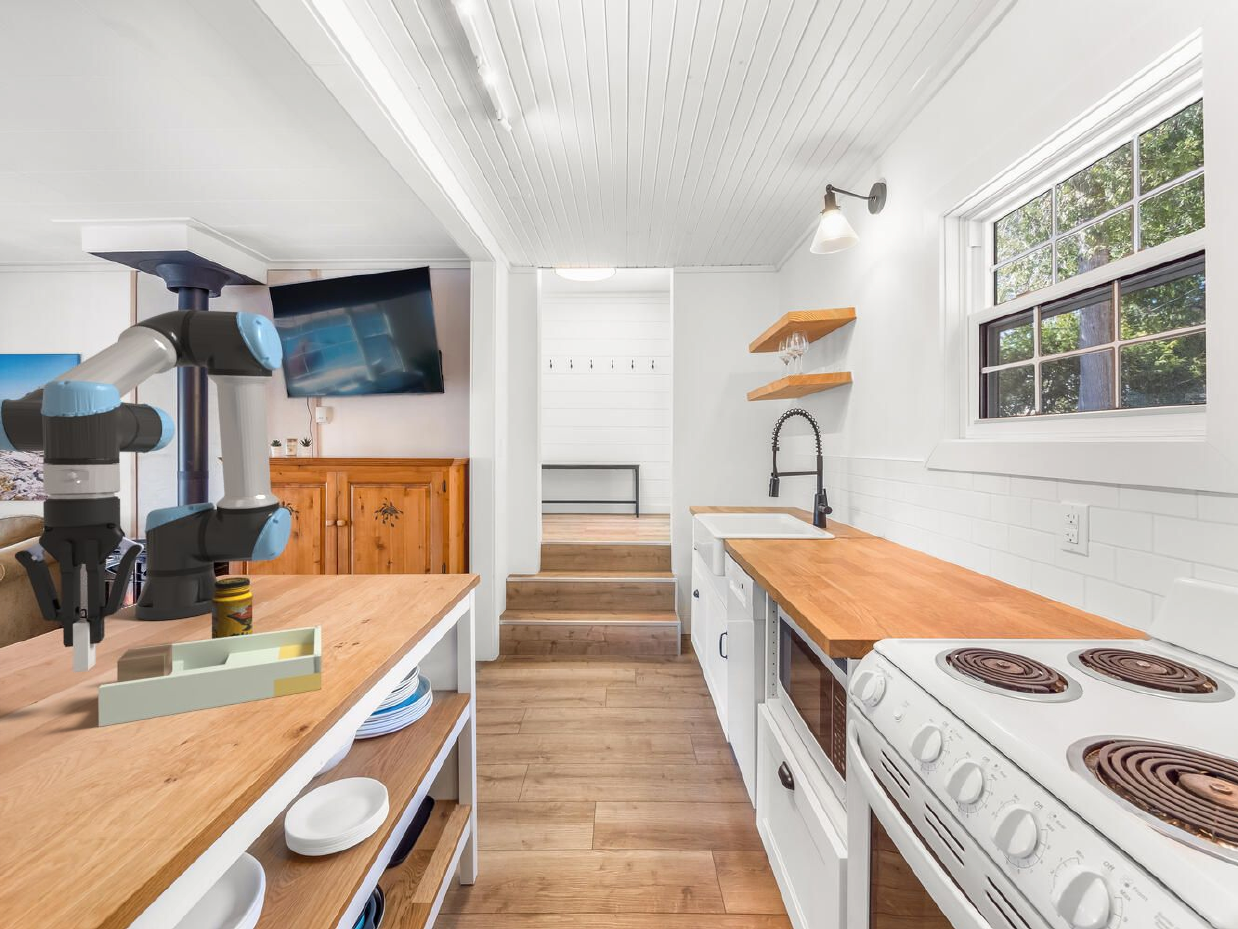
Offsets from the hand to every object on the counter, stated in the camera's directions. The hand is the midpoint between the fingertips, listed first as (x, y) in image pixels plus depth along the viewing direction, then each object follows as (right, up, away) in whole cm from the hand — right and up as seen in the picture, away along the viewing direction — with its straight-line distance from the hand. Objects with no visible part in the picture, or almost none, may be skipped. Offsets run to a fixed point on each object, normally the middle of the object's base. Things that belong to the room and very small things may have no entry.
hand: (84, 667), depth 76 cm
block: (+6, -3, +3) cm, 7 cm away
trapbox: (+14, -5, +8) cm, 17 cm away
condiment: (+2, -5, +24) cm, 25 cm away
